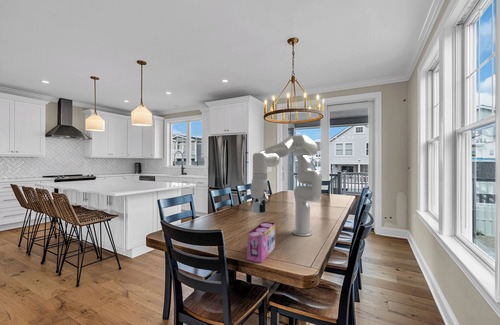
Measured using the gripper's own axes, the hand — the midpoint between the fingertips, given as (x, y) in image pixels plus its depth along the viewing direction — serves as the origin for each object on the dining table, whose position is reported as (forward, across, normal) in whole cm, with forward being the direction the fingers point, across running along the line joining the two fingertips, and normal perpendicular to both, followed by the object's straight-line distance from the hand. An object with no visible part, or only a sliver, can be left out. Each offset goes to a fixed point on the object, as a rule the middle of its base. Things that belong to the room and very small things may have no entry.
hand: (259, 210), depth 125 cm
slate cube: (+1, 0, 0) cm, 1 cm away
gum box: (+22, +1, +1) cm, 22 cm away
